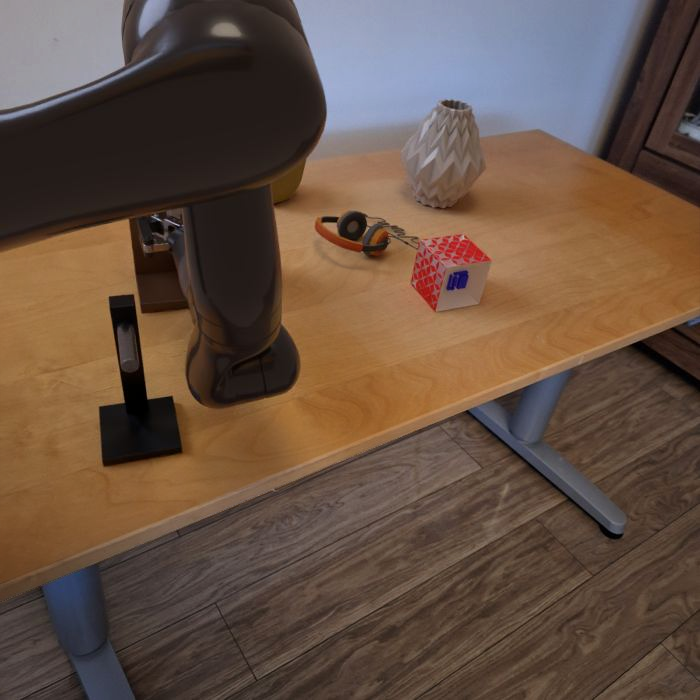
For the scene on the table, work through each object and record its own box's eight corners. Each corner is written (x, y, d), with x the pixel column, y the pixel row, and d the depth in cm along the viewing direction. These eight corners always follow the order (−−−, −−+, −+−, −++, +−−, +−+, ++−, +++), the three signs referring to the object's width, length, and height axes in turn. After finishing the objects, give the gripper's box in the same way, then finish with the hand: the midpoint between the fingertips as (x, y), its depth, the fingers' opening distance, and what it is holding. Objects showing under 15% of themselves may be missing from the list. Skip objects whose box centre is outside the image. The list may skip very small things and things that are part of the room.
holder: (103, 466, 64) (79, 352, 54) (99, 411, 70) (77, 298, 60) (182, 452, 67) (173, 340, 57) (172, 400, 72) (162, 290, 63)
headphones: (446, 237, 105) (366, 243, 92) (435, 265, 108) (356, 274, 94) (378, 198, 114) (297, 198, 101) (370, 224, 117) (289, 228, 103)
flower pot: (305, 201, 116) (308, 154, 110) (269, 213, 110) (271, 165, 105) (274, 183, 120) (276, 137, 114) (238, 194, 115) (238, 147, 109)
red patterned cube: (452, 276, 101) (463, 234, 96) (478, 304, 96) (492, 260, 91) (409, 283, 98) (419, 239, 93) (434, 312, 93) (445, 267, 88)
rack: (141, 313, 84) (121, 152, 70) (135, 273, 91) (116, 119, 77) (257, 301, 89) (261, 149, 75) (242, 264, 96) (243, 118, 82)
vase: (420, 174, 132) (438, 84, 120) (488, 202, 125) (514, 109, 113) (377, 196, 121) (392, 99, 109) (449, 227, 114) (473, 128, 102)
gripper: (275, 238, 70) (244, 176, 81) (143, 247, 65) (130, 180, 76) (272, 293, 74) (244, 227, 86) (149, 305, 70) (136, 234, 81)
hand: (190, 205), depth 81 cm, fingers open, 8 cm apart
